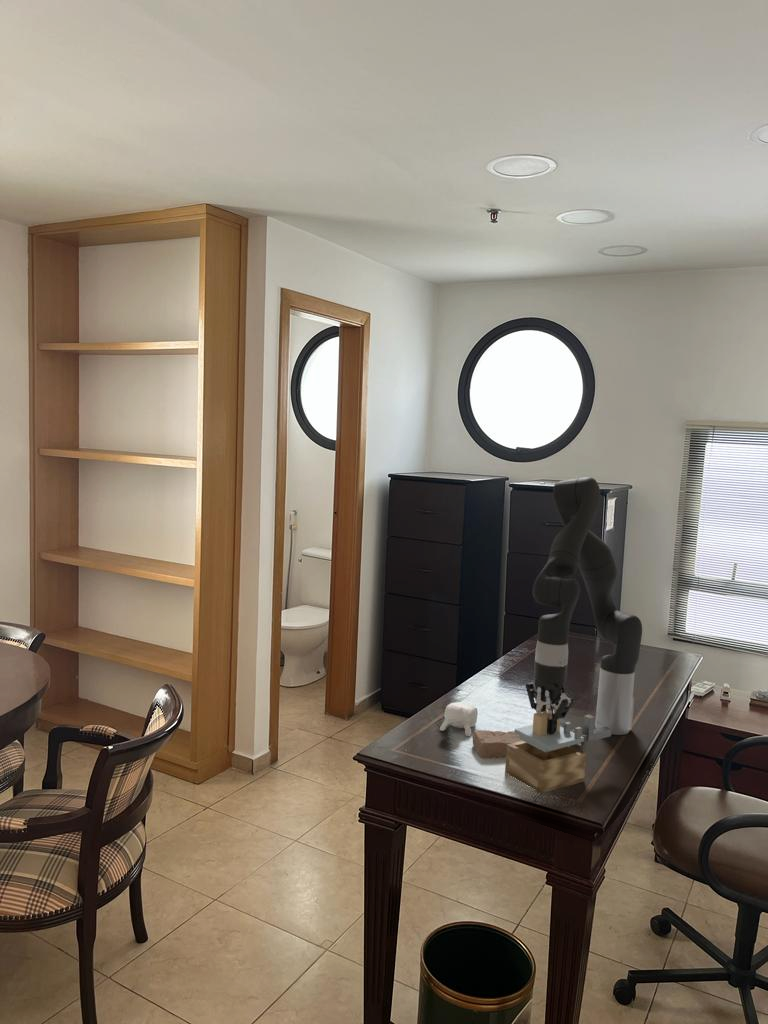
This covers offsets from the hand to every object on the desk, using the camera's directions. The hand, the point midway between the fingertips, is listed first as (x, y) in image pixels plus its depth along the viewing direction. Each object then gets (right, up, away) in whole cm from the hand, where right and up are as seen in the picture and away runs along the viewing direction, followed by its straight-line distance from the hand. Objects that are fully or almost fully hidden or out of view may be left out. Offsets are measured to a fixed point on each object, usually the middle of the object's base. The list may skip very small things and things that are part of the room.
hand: (546, 730), depth 185 cm
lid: (0, -1, -1) cm, 2 cm away
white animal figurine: (-18, -8, +27) cm, 33 cm away
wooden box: (0, -11, 0) cm, 11 cm away
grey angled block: (+13, -3, +4) cm, 14 cm away
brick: (-7, -10, +14) cm, 19 cm away
